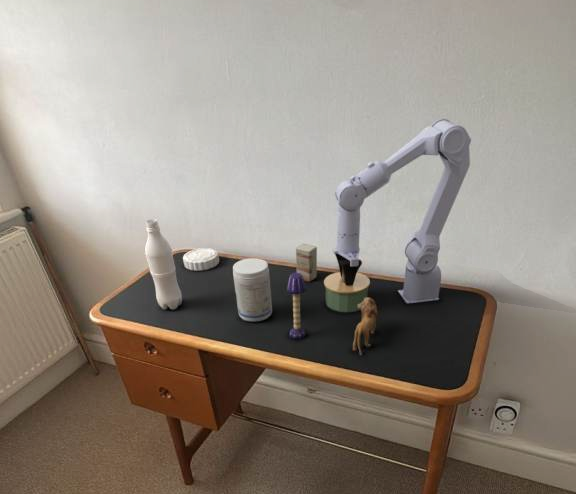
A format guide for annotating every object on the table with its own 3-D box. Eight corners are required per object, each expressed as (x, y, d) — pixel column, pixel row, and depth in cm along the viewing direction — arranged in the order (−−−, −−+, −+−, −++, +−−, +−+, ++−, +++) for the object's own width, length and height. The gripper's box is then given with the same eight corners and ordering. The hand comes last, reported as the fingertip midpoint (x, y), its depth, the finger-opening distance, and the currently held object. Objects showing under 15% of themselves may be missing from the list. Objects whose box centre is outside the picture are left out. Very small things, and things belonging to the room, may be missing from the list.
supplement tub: (240, 306, 134) (234, 258, 125) (273, 305, 133) (269, 256, 124) (237, 324, 126) (230, 274, 117) (272, 322, 126) (267, 272, 117)
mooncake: (179, 270, 155) (177, 260, 153) (191, 256, 164) (189, 246, 162) (213, 271, 153) (212, 261, 151) (223, 256, 163) (222, 246, 160)
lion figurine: (356, 324, 123) (358, 294, 117) (377, 326, 122) (379, 295, 116) (350, 356, 112) (351, 324, 106) (373, 358, 110) (375, 325, 105)
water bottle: (188, 304, 136) (170, 219, 121) (168, 314, 132) (147, 227, 117) (174, 297, 140) (154, 214, 125) (154, 306, 136) (131, 222, 121)
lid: (362, 272, 134) (363, 255, 130) (375, 292, 124) (376, 275, 121) (319, 277, 133) (319, 260, 129) (329, 298, 123) (329, 280, 120)
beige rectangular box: (296, 278, 146) (294, 248, 140) (303, 273, 149) (302, 243, 142) (310, 282, 143) (309, 251, 137) (317, 276, 146) (317, 246, 140)
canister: (360, 291, 137) (361, 271, 133) (372, 310, 128) (373, 289, 124) (322, 296, 136) (322, 276, 132) (330, 316, 127) (330, 295, 123)
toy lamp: (292, 328, 123) (289, 269, 112) (309, 330, 122) (307, 271, 111) (287, 338, 119) (283, 278, 109) (304, 340, 118) (302, 280, 108)
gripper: (327, 223, 124) (327, 270, 133) (339, 244, 113) (338, 294, 121) (352, 221, 125) (351, 268, 133) (367, 240, 114) (365, 291, 122)
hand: (347, 280), depth 127 cm, fingers open, 4 cm apart
